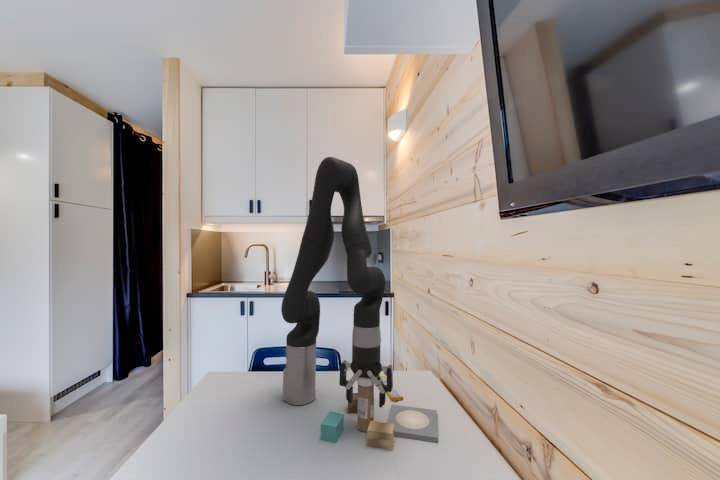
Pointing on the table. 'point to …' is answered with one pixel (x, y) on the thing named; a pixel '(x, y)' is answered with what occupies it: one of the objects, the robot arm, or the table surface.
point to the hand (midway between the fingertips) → (365, 403)
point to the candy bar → (393, 394)
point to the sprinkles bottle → (365, 403)
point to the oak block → (380, 435)
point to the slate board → (414, 423)
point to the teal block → (332, 427)
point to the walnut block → (353, 404)
